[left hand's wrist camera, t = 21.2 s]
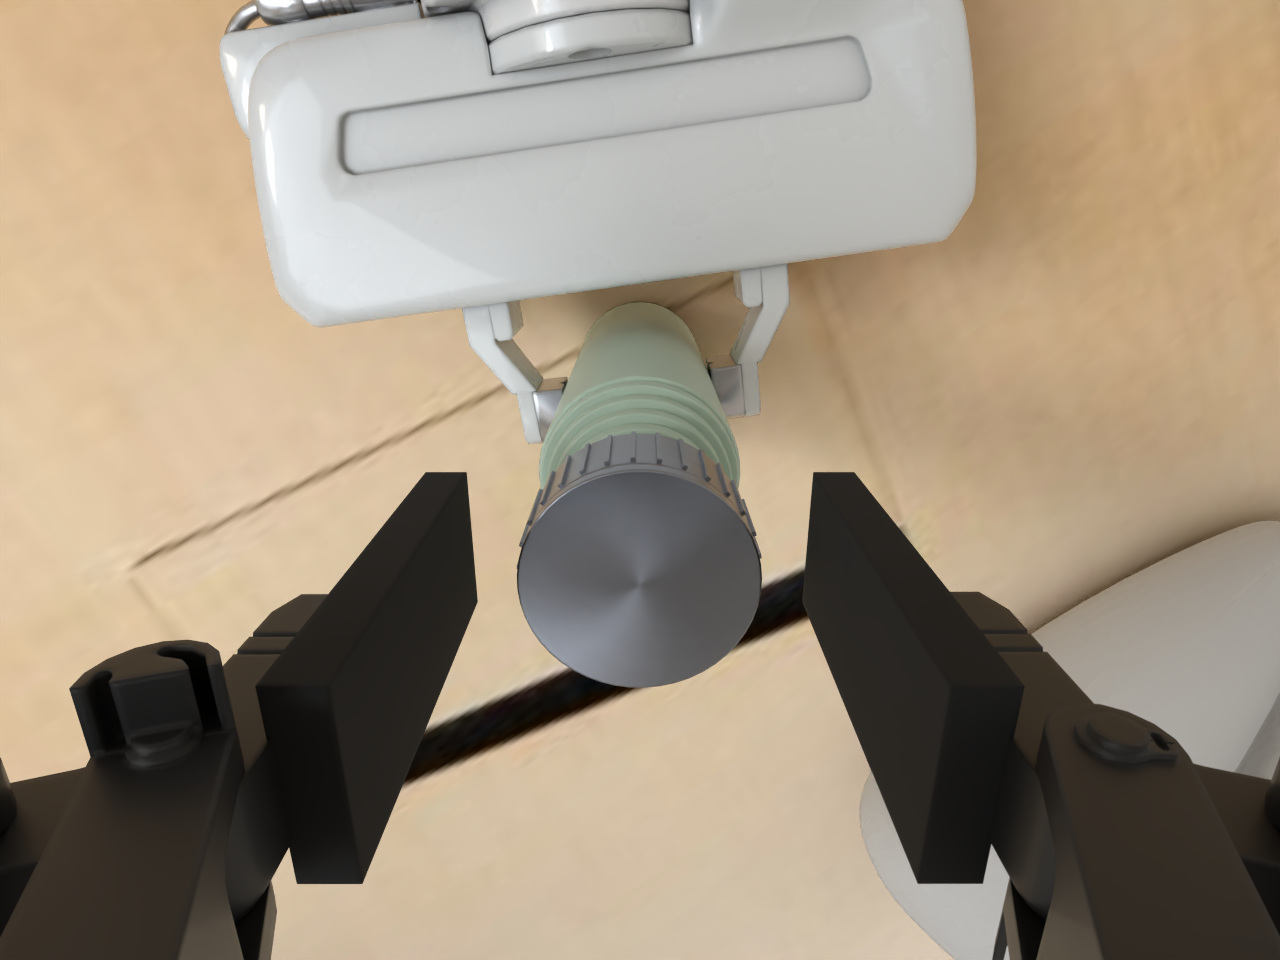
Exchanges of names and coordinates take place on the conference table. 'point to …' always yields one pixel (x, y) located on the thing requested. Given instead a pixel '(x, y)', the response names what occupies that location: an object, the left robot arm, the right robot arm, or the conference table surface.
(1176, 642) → the projector
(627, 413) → the bottle
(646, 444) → the cap
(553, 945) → the conference table surface
